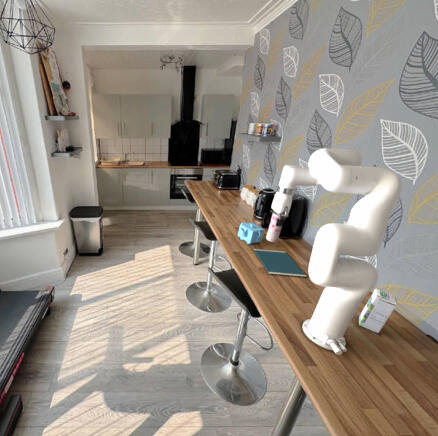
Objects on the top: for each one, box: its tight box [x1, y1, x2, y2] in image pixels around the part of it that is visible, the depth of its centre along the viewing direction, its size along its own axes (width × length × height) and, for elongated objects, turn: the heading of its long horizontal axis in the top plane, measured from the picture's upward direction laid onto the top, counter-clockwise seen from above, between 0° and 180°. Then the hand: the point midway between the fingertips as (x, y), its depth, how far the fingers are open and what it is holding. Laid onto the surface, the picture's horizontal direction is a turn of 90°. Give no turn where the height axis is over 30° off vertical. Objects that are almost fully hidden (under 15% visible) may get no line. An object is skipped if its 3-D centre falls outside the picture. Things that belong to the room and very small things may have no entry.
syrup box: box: [358, 288, 398, 334], centre depth 86 cm, size 6×6×14 cm
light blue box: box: [237, 222, 265, 245], centre depth 146 cm, size 16×18×11 cm
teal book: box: [253, 248, 308, 278], centre depth 127 cm, size 24×18×1 cm
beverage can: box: [265, 212, 283, 243], centre depth 124 cm, size 6×6×15 cm
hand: (276, 223), depth 123 cm, fingers closed on beverage can, 5 cm apart
